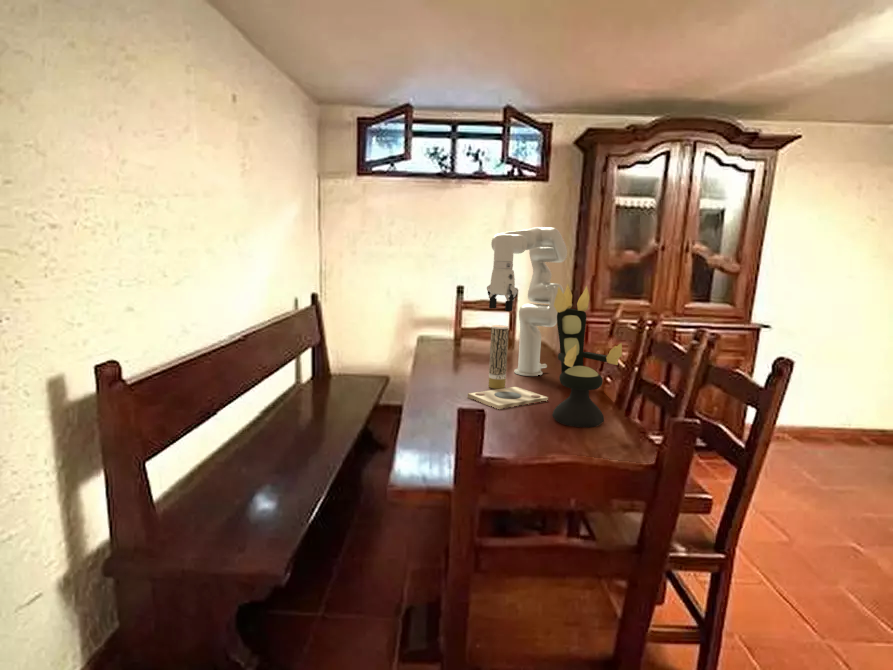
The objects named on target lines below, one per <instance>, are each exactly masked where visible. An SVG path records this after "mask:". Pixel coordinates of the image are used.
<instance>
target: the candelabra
mask: <svg viewBox="0 0 893 670" xmlns="http://www.w3.org/2000/svg"><path fill="white" fill-rule="evenodd" d="M572 302H573V294H572V291H571V287H570V285H569V283H567V284H566V288H565V290H564V294H563V293H562V291H561V289H560V288H559V287H558V292H557V295H556V298H555V302H554V307H555V309H556V311H557V312H558V314H557V324H556V326H557V332H558V333H557V334H558V340H559V348H560V349H559V350H560V352H559V353H558V355H557V359H558V360H559V361H560V364H561V365H560V368H561V370H560V371H561V373H560V374H559V378H558V379H559V383H560V384H561V385H562V386H564V387H565V388H567V389H570V393H569V396H568V397H567V398H566V399H564V400H563V401H562V402H560V403H559V404H558V405H556V406H555V408H554V409H553V412H552V418H553V419H554V420H555V421H556V422H558V423H560V424H561V425H565V426H570V427H574V428H575V427H576V428H594V427H595V428H596V427H599V426H600V425H602V424H603V423H604V422H605V417H604V414H603V412H602V411H601V409H600V408H599V407H598V406H597V404H596V403H594V402H593V400H592V398H590V391H594V390H597V389H599V388H600V387H601V386H602V385H603V381H604V379H603V377H602V376H601V375H600V374H599V372H597V371H596V370H595V369H593V368H592V367H589V366H586V365H584V359H589V360H593V361H599V362H601V363H603V362H604V363H608V364H610V365H616V366H618V365H619V360H620V358H621V357H623V342H621V343H619V344H617V345H615V346H613V347H612V348H611V349H610V350H609V352H608V354H607V355H606V354H600V353H595V352H590V351H584V348H585V347H584V346H585V335H586V327H587V325H586V323H587V313H586V311H587V310H588V309H589V304H590V303H589V302H590V293H589V288H588V285H586V286H585V287H584V290H583V292H582V294H580V296H579V298H578V300H577V303H576V305H577V309H576V308H572V306H573V303H572Z"/></svg>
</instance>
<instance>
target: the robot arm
mask: <svg viewBox="0 0 893 670" xmlns="http://www.w3.org/2000/svg"><path fill="white" fill-rule="evenodd" d="M490 245H491V249H492V250H493V268H492V271H491V278H490V284H489V285H487V286H486V290H487V295H488V299H489V301H488V302H489V305H488V308H489V309H497V303H498V302H497V296H504V297H505V304H504V311H505V312H512V311H513V304H514V303H513V302H514V301H515V298H516V297H517V293H518V290H517V288H516V287H515V286H516V285H515V281H516V279H515V271H514V270H513V267H514V254H516V255H517V254H518V255H519V254H522V253H524V252H525V251H528V253H529V258H530V262H531V267H532V276H531V280H530V284H529V287H528V290H527V299H528V300H529V302H531V303H524V304H522V305H521V306H520V308H519V311H518V318H519V343H518V344H519V345H518V360H517V361H518V362H517V368H514V371H513V372H514V374H516V375H519V376H524V377H525V376H526V377H538V375H540V376H542V375H543V371H542V369H546V368H547V367H548V365H547V364H546V363H541V361H540V360H541V346H542V334H541V330H540V329H539V327H546V328H553V327H555V326H557V314H558V312H557V311H556V309H555V307H554V302H555V298H556V295H557V292H558V287H559V288H560V289H561V291H562V293H563V294H564V292H565V290H564V288H563V285H562V284H560V283H557V282H551V280H552V276H553V275H552V271H551V269H550V267H549V266H548V265H547V263H556V264H557V263H564V261H566V259H567V257H568V247H567V245H566V243H565V240H564V237H563V236H562V234H561V232H560V231H559V229H557V228H556V227H547V226H546V227H545V226H544V227H543V226H541V227H540V226H536V227H531V228H525V229H521V230H512V231H506V232H505V231H504V232H500V233H496V234H495V235H494V236H493V237H492V239H491V244H490Z"/></svg>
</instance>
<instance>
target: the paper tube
mask: <svg viewBox="0 0 893 670" xmlns="http://www.w3.org/2000/svg"><path fill="white" fill-rule="evenodd" d="M490 329H491V331H490V344H489V345H490V346H489V347H490V348H489V367H488V368H489V369H488V387H489V388H490V389H492V390H496V389H503V388H506V382H507V381H506V379H507V364H508V363H507V362H508V361H507V360H508V346H509V345H508V344H509V343H508V342H509V326H507V325H503V324H502V325H501V324H492V325H491V328H490Z"/></svg>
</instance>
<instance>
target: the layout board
mask: <svg viewBox="0 0 893 670" xmlns="http://www.w3.org/2000/svg"><path fill="white" fill-rule="evenodd" d="M467 398H468V399H470V400H473V399H474V400H473V401H475V400H476V402H478V401H479V402H478V403H480V402H481V404H483V405H486V406H488V407H491V406H492V407H491V408H493V407H494V408H493V409H496V408H497V409H496V410H498V409H499V410H504V409H503V408H505V409H509V408H508V407H511V408H515V407H514V406H517V407H520V406H519V405H522V406H525V405H524V404H528V405H530V404H529V403H534V402H540V403H542V402H541V401H546V402H548V401H549V396H545V395H542V394H539V393H536V392H533V391H530V390H527V389H525V388H523V387H522V388H521V387H518V386H512V387H505V388H503V389H491V390H484V391H483V390H482V391H477V392H470V393H467ZM547 400H548V401H547ZM534 404H535V403H534Z"/></svg>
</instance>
